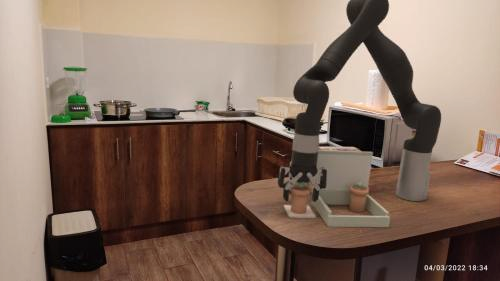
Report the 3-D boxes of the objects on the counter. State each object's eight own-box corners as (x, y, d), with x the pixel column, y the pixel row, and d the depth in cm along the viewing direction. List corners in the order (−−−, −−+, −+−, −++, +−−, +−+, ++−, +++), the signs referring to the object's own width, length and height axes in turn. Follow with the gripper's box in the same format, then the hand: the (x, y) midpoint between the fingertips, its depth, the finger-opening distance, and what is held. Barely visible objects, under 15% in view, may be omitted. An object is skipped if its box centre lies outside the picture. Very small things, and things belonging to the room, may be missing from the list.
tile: (308, 207, 116) (308, 205, 116) (315, 218, 108) (315, 216, 108) (283, 206, 115) (283, 205, 115) (288, 217, 107) (289, 215, 107)
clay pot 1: (305, 206, 114) (307, 179, 112) (310, 214, 109) (313, 185, 107) (287, 206, 114) (289, 178, 112) (291, 214, 108) (293, 185, 106)
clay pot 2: (362, 205, 120) (365, 179, 118) (369, 213, 114) (372, 185, 112) (345, 205, 119) (348, 179, 117) (350, 212, 114) (354, 185, 112)
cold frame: (364, 203, 122) (371, 151, 118) (388, 227, 105) (398, 167, 101) (311, 202, 120) (317, 149, 116) (328, 226, 103) (335, 165, 99)
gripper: (325, 146, 112) (319, 196, 115) (279, 144, 110) (274, 195, 113) (333, 152, 104) (326, 206, 108) (283, 151, 103) (279, 205, 106)
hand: (300, 200), depth 111 cm, fingers open, 8 cm apart
